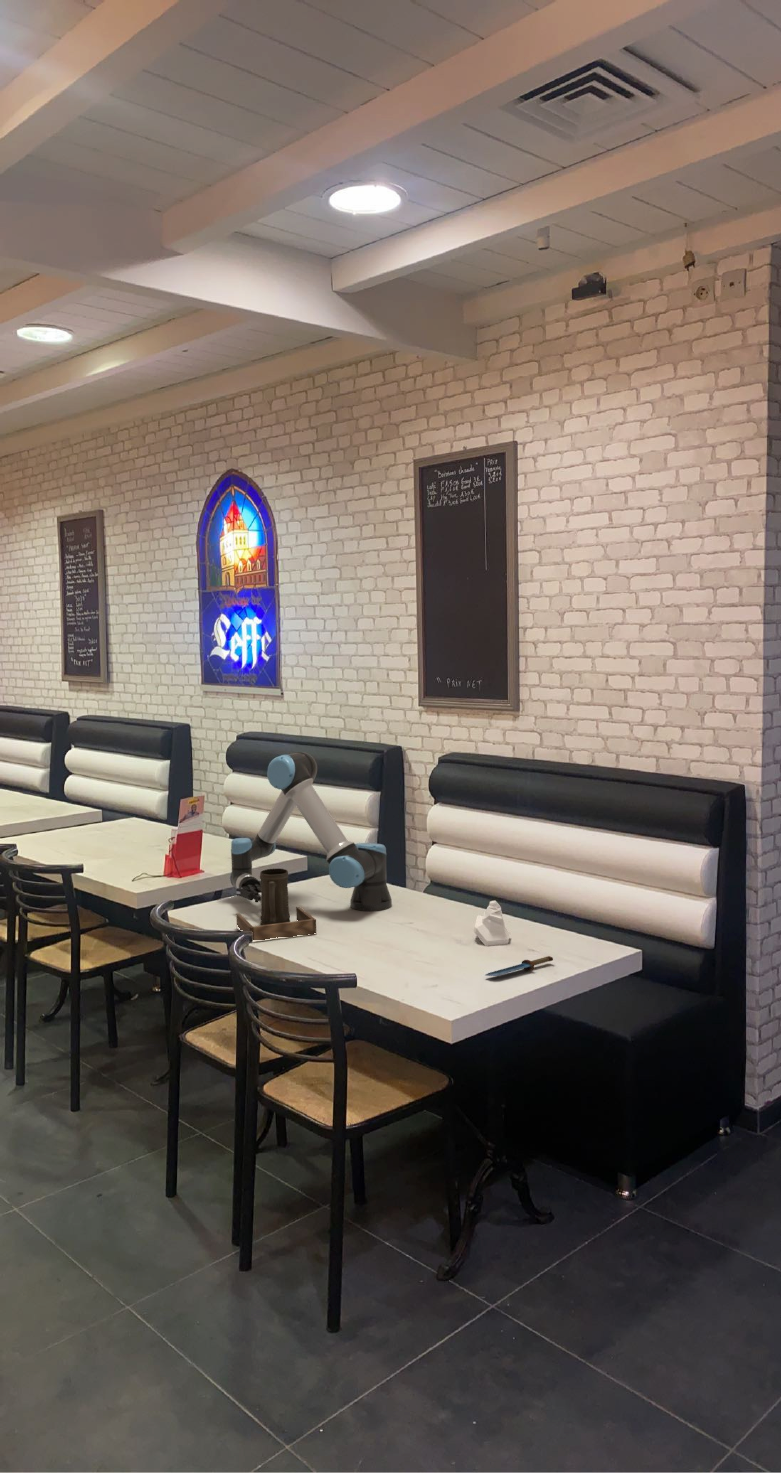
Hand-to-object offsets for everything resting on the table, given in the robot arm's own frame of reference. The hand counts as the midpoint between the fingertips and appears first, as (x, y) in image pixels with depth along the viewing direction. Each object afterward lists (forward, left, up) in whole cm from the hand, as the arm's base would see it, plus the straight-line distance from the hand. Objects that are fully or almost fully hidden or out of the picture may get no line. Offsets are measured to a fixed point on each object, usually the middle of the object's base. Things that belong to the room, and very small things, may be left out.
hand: (265, 900), depth 357 cm
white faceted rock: (-75, +26, -8) cm, 80 cm away
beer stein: (-4, +6, -8) cm, 11 cm away
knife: (-79, +59, -8) cm, 99 cm away
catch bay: (-4, +10, -8) cm, 14 cm away
